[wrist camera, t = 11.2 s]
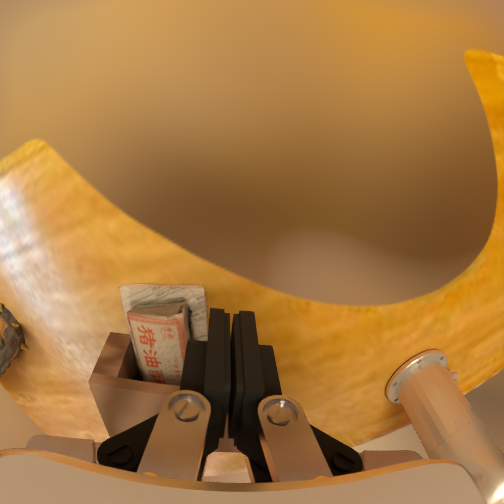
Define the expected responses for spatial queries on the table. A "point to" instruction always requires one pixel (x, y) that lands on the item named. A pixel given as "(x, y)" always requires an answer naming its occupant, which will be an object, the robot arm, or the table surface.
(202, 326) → the packaged product
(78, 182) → the table surface
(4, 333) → the mug
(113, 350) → the walnut shelf
